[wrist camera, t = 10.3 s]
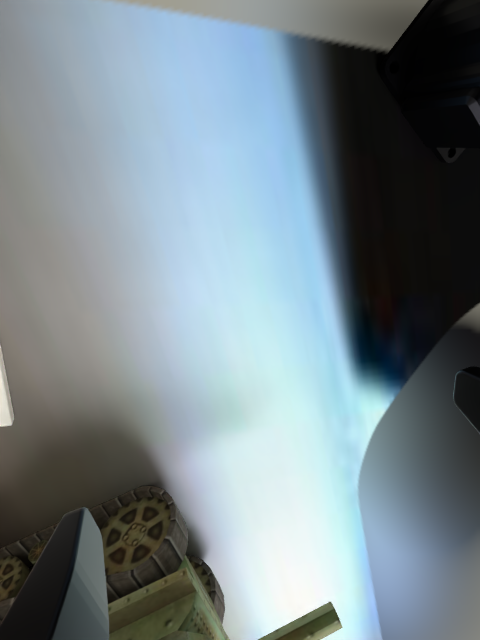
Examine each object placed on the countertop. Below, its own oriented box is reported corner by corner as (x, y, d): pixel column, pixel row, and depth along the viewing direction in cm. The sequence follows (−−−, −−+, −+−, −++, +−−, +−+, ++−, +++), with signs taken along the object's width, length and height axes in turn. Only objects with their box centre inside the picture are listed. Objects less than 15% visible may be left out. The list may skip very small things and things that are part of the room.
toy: (286, 523, 30) (359, 681, 21) (50, 637, 27) (21, 873, 18) (257, 433, 25) (335, 589, 16) (-34, 560, 22) (-128, 831, 13)
